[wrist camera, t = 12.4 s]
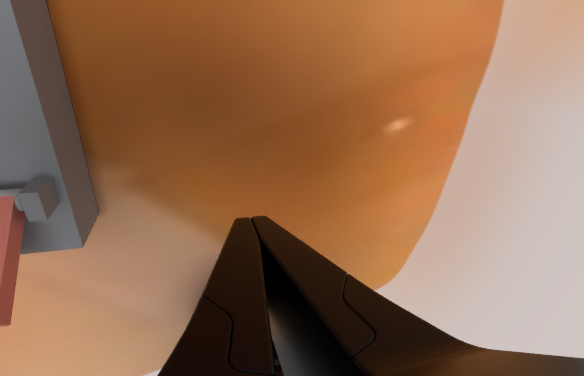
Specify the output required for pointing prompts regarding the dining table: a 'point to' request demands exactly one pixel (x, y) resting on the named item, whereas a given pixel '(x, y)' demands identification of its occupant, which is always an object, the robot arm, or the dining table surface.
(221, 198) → the dining table surface
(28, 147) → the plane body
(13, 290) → the lever
